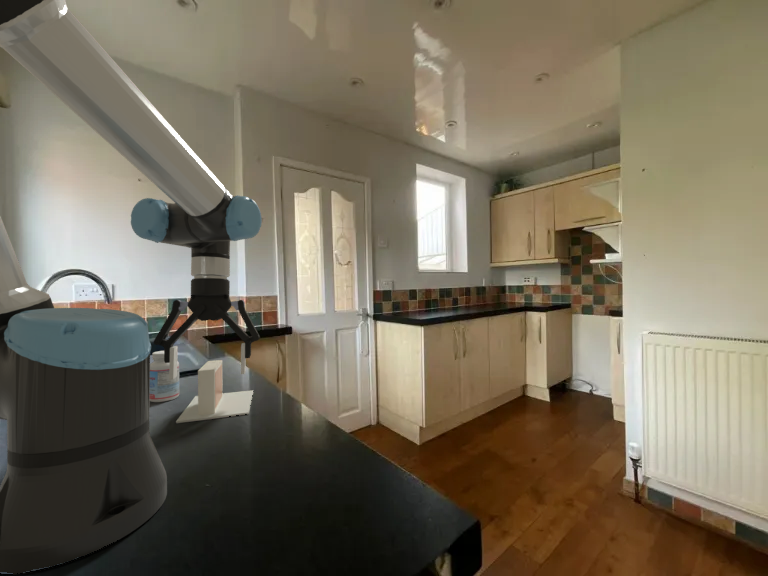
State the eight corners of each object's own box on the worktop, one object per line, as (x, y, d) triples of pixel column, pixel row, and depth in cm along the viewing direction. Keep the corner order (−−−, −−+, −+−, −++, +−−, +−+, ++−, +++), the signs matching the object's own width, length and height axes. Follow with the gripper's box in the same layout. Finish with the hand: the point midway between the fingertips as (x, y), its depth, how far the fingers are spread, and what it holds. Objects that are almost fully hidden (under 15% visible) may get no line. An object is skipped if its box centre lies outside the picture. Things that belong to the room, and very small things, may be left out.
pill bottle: (148, 398, 78) (148, 351, 78) (178, 393, 82) (177, 348, 82) (148, 405, 73) (148, 355, 73) (180, 399, 77) (180, 352, 77)
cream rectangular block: (215, 413, 66) (214, 369, 67) (198, 415, 65) (197, 370, 66) (222, 398, 76) (222, 359, 76) (208, 399, 75) (208, 360, 75)
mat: (248, 414, 67) (248, 412, 67) (176, 423, 63) (176, 421, 63) (253, 391, 82) (253, 390, 82) (195, 397, 78) (195, 396, 78)
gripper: (270, 280, 79) (270, 367, 78) (150, 278, 71) (148, 376, 70) (270, 278, 72) (269, 374, 71) (136, 275, 64) (133, 384, 63)
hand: (209, 375), depth 70 cm, fingers open, 13 cm apart
